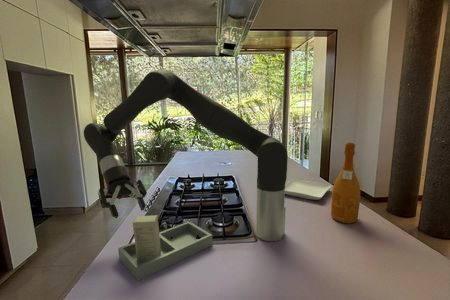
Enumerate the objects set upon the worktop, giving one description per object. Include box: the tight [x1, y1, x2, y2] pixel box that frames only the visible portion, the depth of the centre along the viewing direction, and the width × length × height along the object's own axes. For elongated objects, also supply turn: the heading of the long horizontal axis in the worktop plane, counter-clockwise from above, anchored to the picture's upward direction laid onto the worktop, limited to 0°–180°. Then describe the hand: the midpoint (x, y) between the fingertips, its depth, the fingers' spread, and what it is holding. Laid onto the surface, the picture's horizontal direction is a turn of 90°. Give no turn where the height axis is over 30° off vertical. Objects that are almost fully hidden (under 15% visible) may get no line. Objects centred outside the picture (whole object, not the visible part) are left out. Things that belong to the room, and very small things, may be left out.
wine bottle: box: [330, 142, 361, 224], centre depth 99 cm, size 10×10×30 cm
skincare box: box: [132, 214, 161, 261], centre depth 75 cm, size 6×4×12 cm
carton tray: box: [117, 221, 213, 281], centre depth 80 cm, size 25×13×4 cm, turn 132°
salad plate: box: [285, 178, 333, 201], centre depth 131 cm, size 21×21×3 cm
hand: (130, 213), depth 83 cm, fingers open, 8 cm apart
